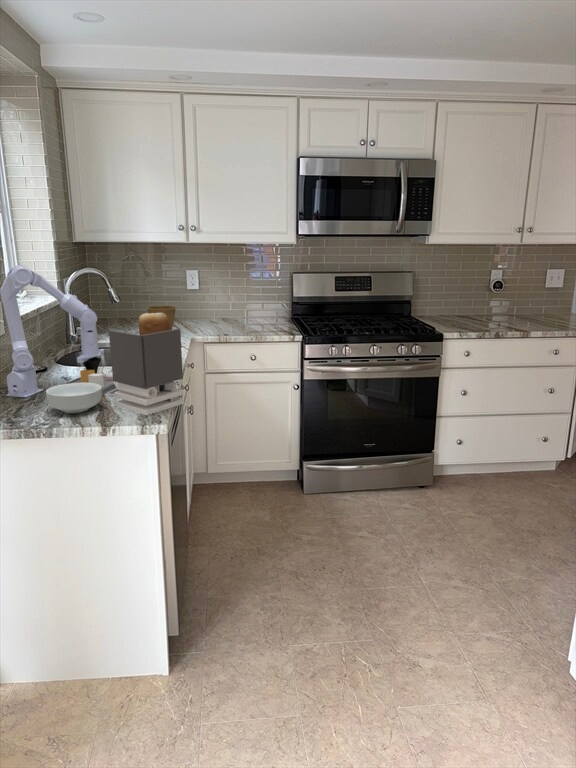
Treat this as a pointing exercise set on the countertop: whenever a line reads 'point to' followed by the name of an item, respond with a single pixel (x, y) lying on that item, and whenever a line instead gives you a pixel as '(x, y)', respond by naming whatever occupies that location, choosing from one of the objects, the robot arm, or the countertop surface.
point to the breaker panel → (101, 382)
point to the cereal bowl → (74, 396)
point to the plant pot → (167, 310)
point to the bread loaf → (153, 323)
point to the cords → (80, 378)
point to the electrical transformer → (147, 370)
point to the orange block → (86, 375)
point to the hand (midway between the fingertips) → (92, 377)
